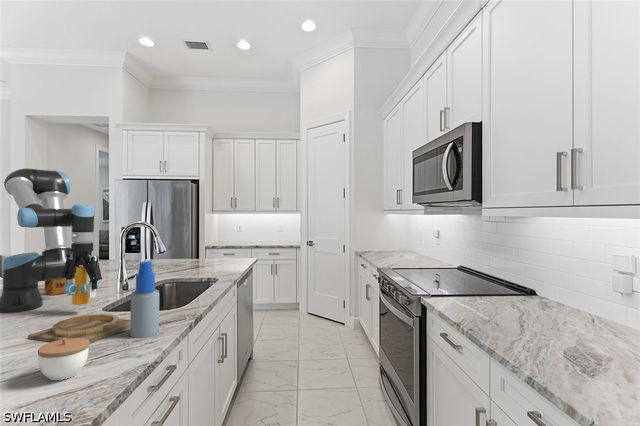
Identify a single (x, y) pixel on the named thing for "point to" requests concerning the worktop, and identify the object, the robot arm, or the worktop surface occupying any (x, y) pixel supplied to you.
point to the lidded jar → (63, 357)
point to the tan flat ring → (88, 331)
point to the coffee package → (56, 286)
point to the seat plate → (49, 335)
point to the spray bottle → (145, 304)
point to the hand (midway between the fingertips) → (81, 296)
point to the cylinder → (80, 287)
